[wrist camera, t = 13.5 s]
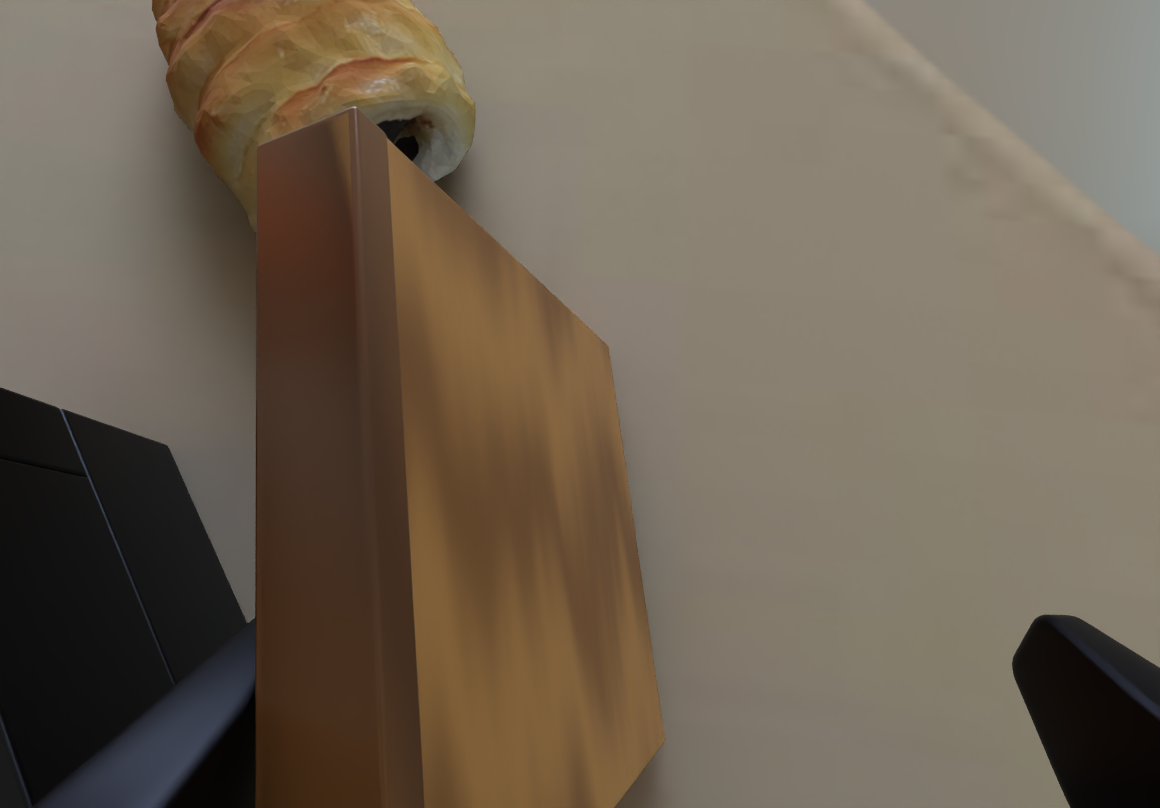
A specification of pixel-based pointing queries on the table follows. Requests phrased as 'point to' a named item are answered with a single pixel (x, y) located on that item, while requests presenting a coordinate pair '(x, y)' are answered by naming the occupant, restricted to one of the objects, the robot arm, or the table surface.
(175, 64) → the pastry
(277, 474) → the toast
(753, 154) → the table surface
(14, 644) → the toaster
